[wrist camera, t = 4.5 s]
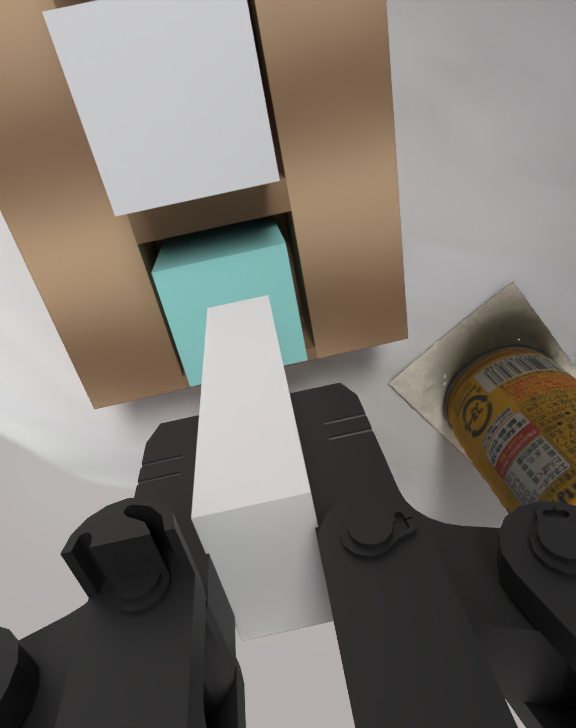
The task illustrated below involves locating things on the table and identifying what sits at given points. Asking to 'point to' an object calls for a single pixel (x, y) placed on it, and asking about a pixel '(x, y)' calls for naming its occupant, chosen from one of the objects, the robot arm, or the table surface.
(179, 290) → the teal cube
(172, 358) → the wooden tray
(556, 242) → the table surface
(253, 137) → the grey cube
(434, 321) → the table surface
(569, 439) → the condiment
